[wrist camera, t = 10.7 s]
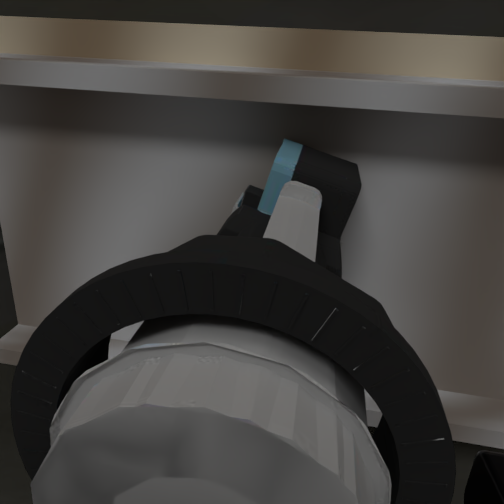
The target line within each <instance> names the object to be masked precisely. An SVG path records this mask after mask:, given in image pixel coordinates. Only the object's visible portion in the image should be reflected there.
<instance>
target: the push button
mask: <svg viewBox="0 0 504 504" xmlns="http://www.w3.org/2000/svg"><path fill="white" fill-rule="evenodd" d="M361 186H362V183H361V179H360V174H359V169H358V165H357V164H356V163H353V162H350V161H347V160H344V159H341V158H339V157H336V156H333V155H330V154H327V153H325V152H322V151H319V150H316V149H313V148H311V147H308V146H305V145H302V144H299V143H296V142H294V141H291V140H288V139H285V138H284V140H283V143H282V146H281V148H280V149H279V151H278V153H277V155H276V158H275V160H274V163H273V166H272V169H271V171H270V174H269V177H268V180H267V183H266V186H265V189H264V190H263V189H260V188H258V187H255V186H252V185H249V186H248V187H247V189H246V190H245V192H244V193H242V194H241V196H240V197H239V199H238V200H237V202H236V203H235V205H234V207H233V210H232V213H231V215H230V216H229V217H228V218H227V220H226V221H225V223H224V224H223V226H222V227H221V229H220V230H219V232H218V233H217V235H201V236H197V237H195V238H193V239H191V240H190V241H188V242H186V243H184V244H182V245H180V246H178V247H176V248H174V249H172V250H170V251H168V252H165V253H158V254H153V255H149V256H145V257H141V258H138V259H134V260H131V261H128V262H125V263H123V264H120V265H118V266H115V267H113V268H110V269H108V270H106V271H105V272H103V273H101V274H99V275H97V276H95V277H93V278H92V279H90V280H89V281H87V282H86V283H85V284H83V285H82V286H80V287H79V288H78V289H76V290H75V291H74V292H73V293H72V294H70V295H69V296H68V297H67V298H66V299H65V300H64V301H63V302H62V303H61V304H59V305H58V306H57V307H56V308H55V309H54V310H53V311H52V312H51V313H50V314H49V315H48V316H47V317H46V318H45V319H44V320H43V321H42V322H41V324H40V325H39V326H38V327H37V329H36V330H35V331H34V332H33V334H32V335H31V337H30V339H29V341H28V342H27V344H26V346H25V347H24V349H23V351H22V354H21V356H20V359H19V361H18V364H17V366H16V371H15V375H14V379H13V383H12V392H11V419H12V426H13V432H14V437H15V440H16V444H17V447H18V451H19V454H20V456H21V459H22V461H23V463H24V466H25V468H26V470H27V472H28V474H29V476H30V478H31V480H32V482H31V490H32V497H33V504H451V500H452V497H453V493H454V485H455V476H456V465H455V450H454V445H453V440H452V435H451V430H450V427H449V424H448V421H447V418H446V414H445V411H444V408H443V405H442V402H441V399H440V396H439V393H438V391H437V388H436V386H435V384H434V382H433V380H432V378H431V376H430V374H429V372H428V370H427V369H426V367H425V366H424V364H423V363H422V361H421V359H420V358H419V356H418V355H417V353H416V352H415V350H414V349H413V348H412V347H411V346H410V344H409V343H408V342H407V341H406V340H405V339H404V337H403V336H402V335H401V334H400V333H399V331H397V330H396V329H395V328H394V326H393V324H392V322H391V320H390V318H389V317H388V315H387V313H386V311H385V309H384V307H383V306H382V304H381V303H380V302H379V301H377V300H376V299H375V298H373V297H372V296H370V295H368V294H367V293H365V292H363V291H362V290H360V289H358V288H357V287H355V286H353V285H352V284H350V283H348V282H347V281H345V280H343V279H342V259H341V246H342V244H341V242H342V233H343V231H344V228H345V226H346V224H347V222H348V219H349V217H350V215H351V212H352V210H353V208H354V206H355V203H356V201H357V199H358V196H359V193H360V190H361ZM142 321H144V322H143V323H142V324H141V326H140V327H139V329H138V330H137V331H136V333H135V334H134V335H133V337H132V338H131V340H130V341H129V342H128V344H127V345H126V346H125V348H124V349H123V351H122V352H121V353H120V354H118V355H116V356H114V357H112V358H110V359H108V354H109V343H110V339H111V334H112V333H114V332H116V331H118V330H120V329H122V328H124V327H127V326H130V325H133V324H136V323H139V322H142ZM364 389H365V390H366V391H367V392H368V394H369V395H370V396H371V398H372V399H373V400H374V401H375V403H376V404H377V406H378V407H379V409H380V411H381V412H382V417H381V419H380V422H379V425H378V427H377V429H376V431H375V433H374V434H373V436H372V437H371V435H370V433H369V431H368V424H367V414H366V403H365V392H364Z"/></svg>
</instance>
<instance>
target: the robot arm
mask: <svg viewBox="0 0 504 504" xmlns="http://www.w3.org/2000/svg"><path fill="white" fill-rule="evenodd" d="M464 504H504V453H499V452H493V451H487V450H481V451H479V452H478V453H477V455H476V456H475V459H474V462H473V466H472V469H471V472H470V475H469V478H468V482H467V485H466V488H465V493H464Z"/></svg>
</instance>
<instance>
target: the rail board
mask: <svg viewBox="0 0 504 504" xmlns="http://www.w3.org/2000/svg"><path fill="white" fill-rule="evenodd" d="M284 138H285V139H288V140H291V141H294V142H296V143H299V144H302V145H305V146H308V147H311V148H313V149H316V150H319V151H322V152H325V153H327V154H330V155H333V156H336V157H339V158H341V159H344V160H347V161H350V162H353V163H356V164H357V165H358V169H359V174H360V179H361V183H362V186H361V190H360V193H359V196H358V199H357V201H356V203H355V206H354V208H353V210H352V212H351V215H350V217H349V219H348V222H347V224H346V226H345V228H344V231H343V233H342V242H341V244H342V246H341V259H342V279H343V280H345V281H347V282H348V283H350V284H352V285H353V286H355V287H357V288H358V289H360V290H362V291H363V292H365V293H367V294H368V295H370V296H372V297H373V298H375V299H376V300H377V301H379V302H380V303H381V304H382V306H383V307H384V309H385V311H386V313H387V315H388V317H389V318H390V320H391V322H392V324H393V326H394V328H395V329H396V330H397V331H399V333H400V334H401V335H402V336H403V337H404V339H405V340H406V341H407V342H408V343H409V344H410V346H411V347H412V348H413V349H414V350H415V352H416V353H417V355H418V356H419V358H420V359H421V361H422V363H423V364H424V366H425V367H426V369H427V370H428V372H429V374H430V376H431V378H432V380H433V382H434V384H435V386H436V388H437V391H438V393H439V396H440V399H441V402H442V405H443V408H444V411H445V414H446V418H447V421H448V424H449V427H450V430H451V435H452V440H454V441H460V442H465V443H471V444H477V445H483V446H489V447H495V448H500V449H504V37H483V36H459V35H436V34H412V33H389V32H365V31H342V30H318V29H294V28H271V27H247V26H224V25H200V24H177V23H153V22H130V21H106V20H83V19H59V18H36V17H12V16H0V222H1V228H2V234H3V240H4V245H5V251H6V257H7V262H8V268H9V274H10V279H11V285H12V291H13V297H14V302H15V308H16V314H17V319H18V325H17V326H16V327H14V328H13V329H12V330H11V331H9V332H8V333H7V334H6V335H4V336H3V337H2V338H1V339H0V363H5V364H11V365H17V364H18V361H19V359H20V356H21V354H22V351H23V349H24V347H25V346H26V344H27V342H28V341H29V339H30V337H31V335H32V334H33V332H34V331H35V330H36V329H37V327H38V326H39V325H40V324H41V322H42V321H43V320H44V319H45V318H46V317H47V316H48V315H49V314H50V313H51V312H52V311H53V310H54V309H55V308H56V307H57V306H58V305H59V304H61V303H62V302H63V301H64V300H65V299H66V298H67V297H68V296H69V295H70V294H72V293H73V292H74V291H75V290H76V289H78V288H79V287H80V286H82V285H83V284H85V283H86V282H87V281H89V280H90V279H92V278H93V277H95V276H97V275H99V274H101V273H103V272H105V271H106V270H108V269H110V268H113V267H115V266H118V265H120V264H123V263H125V262H128V261H131V260H134V259H138V258H141V257H145V256H149V255H153V254H158V253H165V252H168V251H170V250H172V249H174V248H176V247H178V246H180V245H182V244H184V243H186V242H188V241H190V240H191V239H193V238H195V237H197V236H201V235H217V233H218V232H219V230H220V229H221V227H222V226H223V224H224V223H225V221H226V220H227V218H228V217H229V216H230V215H231V213H232V210H233V207H234V205H235V203H236V202H237V200H238V199H239V197H240V196H241V194H242V193H244V192H245V190H246V189H247V187H248V186H249V185H252V186H255V187H258V188H260V189H263V190H264V189H265V186H266V183H267V180H268V177H269V174H270V171H271V169H272V166H273V163H274V160H275V158H276V155H277V153H278V151H279V149H280V148H281V146H282V143H283V140H284ZM143 322H144V321H142V322H139V323H136V324H133V325H130V326H127V327H124V328H122V329H120V330H118V331H116V332H114V333H112V334H111V339H110V343H109V354H108V359H110V358H112V357H114V356H116V355H118V354H120V353H121V352H122V351H123V349H124V348H125V346H126V345H127V344H128V342H129V341H130V340H131V338H132V337H133V335H134V334H135V333H136V331H137V330H138V329H139V327H140V326H141V324H142V323H143ZM364 392H365V403H366V414H367V424H368V426H372V427H378V425H379V422H380V419H381V417H382V412H381V411H380V409H379V407H378V406H377V404H376V403H375V401H374V400H373V399H372V398H371V396H370V395H369V394H368V392H367V391H366V390H365V389H364Z"/></svg>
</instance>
